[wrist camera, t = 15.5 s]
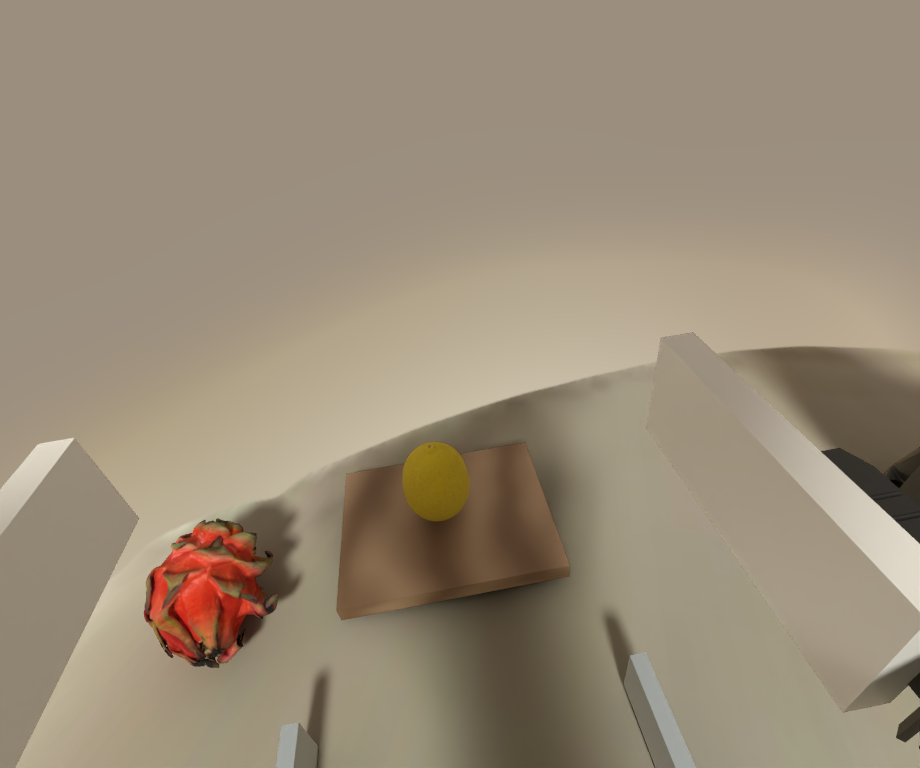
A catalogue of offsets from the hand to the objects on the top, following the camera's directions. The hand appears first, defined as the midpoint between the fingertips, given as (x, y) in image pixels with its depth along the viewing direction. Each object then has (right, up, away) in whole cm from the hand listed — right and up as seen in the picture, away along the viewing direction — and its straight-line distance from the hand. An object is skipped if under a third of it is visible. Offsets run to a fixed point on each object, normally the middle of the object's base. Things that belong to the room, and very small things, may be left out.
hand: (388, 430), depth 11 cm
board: (0, -12, +32) cm, 34 cm away
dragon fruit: (-17, -18, +27) cm, 36 cm away
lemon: (0, -11, +31) cm, 33 cm away
